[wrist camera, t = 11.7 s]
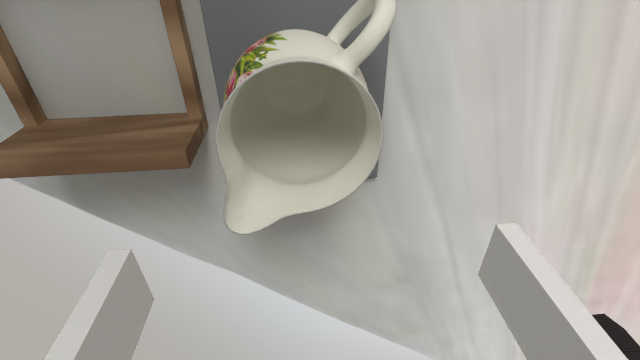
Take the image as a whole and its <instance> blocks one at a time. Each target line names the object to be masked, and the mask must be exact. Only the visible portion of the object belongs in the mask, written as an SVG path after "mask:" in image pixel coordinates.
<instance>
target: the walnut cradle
mask: <svg viewBox="0 0 640 360" xmlns="http://www.w3.org/2000/svg"><path fill="white" fill-rule="evenodd" d="M160 4H161V8H162V12H163V16H164V20H165V24H166V28H167V32H168V36H169V40H170V44H171V48H172V52H173V56H174V60H175V64H176V68H177V72H178V76H179V80H180V84H181V88H182V92H183V96H184V100H185V104H186V108H187V112H188V113H175V114H154V115H133V116H112V117H91V118H70V119H48V120H47V118H46V116H45V114H44V112H43V110H42V108H41V106H40V104H39V102H38V100H37V98H36V96H35V94H34V92H33V90H32V88H31V86H30V84H29V82H28V80H27V78H26V76H25V74H24V72H23V70H22V68H21V66H20V64H19V62H18V60H17V58H16V56H15V54H14V52H13V50H12V48H11V46H10V44H9V42H8V40H7V38H6V36H5V34H4V32H3V30H2V28H1V26H0V83H1V84H2V86H3V88H4V90H5V92H6V94H7V95H8V97H9V99H10V101H11V103H12V105H13V106H14V108H15V110H16V112H17V114H18V116H19V117H20V119H21V121H22V123H23V125H24V126H25V127H24V128H22V129H21V130H19V131H18V132H16V133H15V134H13V135H12V136H10V137H9V138H7V139H6V140H4V141H3V142H1V143H0V178H18V177H36V176H54V175H72V174H90V173H108V172H126V171H144V170H163V169H181V168H190V166H191V164H192V162H193V159H194V157H195V155H196V153H197V151H198V148H199V146H200V144H201V142H202V139H203V137H204V135H205V133H206V131H207V128H208V123H207V119H206V114H205V110H204V105H203V101H202V96H201V92H200V87H199V82H198V78H197V73H196V69H195V64H194V60H193V55H192V51H191V46H190V42H189V37H188V33H187V28H186V23H185V19H184V14H183V10H182V5H181V1H180V0H160Z"/></svg>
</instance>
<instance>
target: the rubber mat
mask: <svg viewBox="0 0 640 360" xmlns="http://www.w3.org/2000/svg"><path fill="white" fill-rule="evenodd" d="M357 1H358V0H200V3H201V8H202V13H203V18H204V23H205V29H206V34H207V39H208V44H209V49H210V55H211V60H212V65H213V70H214V75H215V81H216V86H217V91H218V96H219V102H220V107H221V111H222V108H223V104H224V94H225V89H226V84H227V81H228V79H229V76H230V73H231V71H232V69H233V67H234V66H235V64H236V62H237V61H238V59H239V58H240V57H241V55H242V54H243V53H244V52H245V51H246V50H247V49H248V48H249V47H250V46H251V45H252V44H254V43H255V42H256V41H258V40H259V39H261V38H263V37H265V36H267V35H269V34H272V33H275V32H278V31H282V30H290V29H301V30H308V31H312V32H316V33H319V34H321V35H324V36H327V35H328V34H329V32H330V31H331V30H332V29H333V28H334V26H335V25H336V24H337V23H338V21H339V20H340V19H341V18H342V17H343V16H344V14H345V13H346V12H347V11H348V10H349V9H350V8H351V7H352V6H353V5H354V4H355V3H356V2H357ZM372 14H373V13H372ZM372 14H370V15H369V16H368V17H367V18H365V19H364V20H363V21H362V22H361V23H360V24H359V25H358V26H357V27H356V28H355V29H354V30H353V31H352V32H351V33H350V34H349V35H348V36H347V37H346V38H345V40H344V41H343V42H342V43H341V45H340V46H341V47H342V48H343V49H346V48H347V47H348V46H349V45H351V43H352V42H353V41H354V40H355V39H356V38H357V37H358V36H359V34H360V33H361V32H362V31H363V29H364V28H365V27H366V25H367V23H368V22H369V20H370V18H371V17H372ZM389 31H390V29H389ZM389 31H388V32H387V34H386V35H385V37H384V38H383V40H382V41H381V42H380V44H379V45H378V46H377V47H376V48H375V50H374V51H373V52H372V53H371V54H370V55H369V56H368V57H367V58H366V59H365V60H364V61H363V62H362V63H361V64H360V65H359V66H358V67H359V69H360V70H361V72H362V74H363V77H364V79H365V82H366V84H367V88H368V92H369V93H370V94H371V96H372V98H373V99H374V101H375V103H376V105H377V107H378V110H379V112H380V116H381V120H382V111H383V99H384V88H385V76H386V65H387V54H388V42H389ZM377 168H378V161H377V163H376V165H375V167H374V169H373V171H372V172H371V174H370V175H369V177H368V178H370V177H377Z"/></svg>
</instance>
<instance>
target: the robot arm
mask: <svg viewBox="0 0 640 360" xmlns="http://www.w3.org/2000/svg"><path fill="white" fill-rule="evenodd" d="M478 275H479V277H480V279H481V280H482V282H483V284H484V286H485V287H486V289H487V291H488V293H489V294H490V296H491V298H492V300H493V301H494V303H495V305H496V306H497V308H498V310H499V312H500V313H501V315H502V317H503V319H504V320H505V322H506V324H507V326H508V327H509V329H510V331H511V332H512V334H513V336H514V338H515V339H516V341H517V343H518V345H519V346H520V348H521V350H522V352H523V353H524V355H525V357H526V358H527V360H640V346H639V345H638V344H637V343H636V342H635V341H634V339H633V338H632V337H631V336H630V335H629V334H628V333H627V331H626V330H625V329H624V328H622V327H621V326H620V325H618V324H617V323H616V322H614V321H613V320H612V319H610V318H609V317H608V316H606V315H605V314H596V315H591V314H590V312H589V311H588V310H587V309H586V308H585V306H584V305H583V304H582V303H581V302H580V300H579V299H578V298H577V297H576V295H575V294H574V293H573V292H572V291H571V289H570V288H569V287H568V286H567V284H566V283H565V282H564V281H563V280H562V278H561V277H560V276H559V275H558V273H557V272H556V271H555V270H554V269H553V267H552V266H551V265H550V264H549V263H548V261H547V260H546V259H545V258H544V256H543V255H542V254H541V253H540V252H539V250H538V249H537V248H536V247H535V245H534V244H533V243H532V242H531V241H530V239H529V238H528V237H527V236H526V234H525V233H524V232H523V231H522V230H521V228H520V227H519V226H518V225H517V224H516V223H511V224H496V226H495V229H494V232H493V234H492V237H491V240H490V243H489V246H488V248H487V251H486V254H485V257H484V260H483V262H482V265H481V268H480V271H479V273H478ZM153 300H154V298H153V296H152V293H151V291H150V289H149V287H148V285H147V283H146V281H145V278H144V276H143V274H142V272H141V270H140V268H139V265H138V263H137V261H136V259H135V257H134V254H133V253H132V250H131V249H126V250H111V251H108V252H107V254H106V256H105V258H104V259H103V261H102V262H101V264H100V266H99V268H98V269H97V271H96V273H95V274H94V276H93V278H92V279H91V281H90V283H89V285H88V286H87V288H86V290H85V291H84V293H83V295H82V297H81V298H80V300H79V301H78V303H77V305H76V307H75V308H74V310H73V312H72V313H71V315H70V317H69V318H68V320H67V322H66V324H65V325H64V327H63V329H62V330H61V332H60V334H59V336H58V337H57V339H56V341H55V342H54V344H53V346H52V348H51V349H50V351H49V352H48V354H47V356H46V358H45V359H44V360H131V358H132V356H133V353H134V350H135V348H136V345H137V342H138V340H139V337H140V335H141V332H142V329H143V327H144V324H145V322H146V319H147V316H148V313H149V311H150V308H151V306H152V303H153Z"/></svg>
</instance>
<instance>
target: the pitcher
mask: <svg viewBox="0 0 640 360" xmlns="http://www.w3.org/2000/svg"><path fill="white" fill-rule="evenodd" d="M372 13H373V14H372ZM370 14H372V17H371V18H370V20H369V22H368V23H367V25H366V27H365V28H364V29H363V31H362V32H361V33H360V34H359V36H358V37H357V38H356V39H355V40H354V41H353V42H352V43H351V45H349V46H348V47H347V48H346V49H343V48H342V47H341V46H340V45H341V43H342V42H343V41H344V40H345V38H346V37H347V36H348V35H349V34H350V33H351V32H352V31H353V30H354V29H355V28H356V27H357V26H358V25H359V24H360V23H361V22H362V21H363V20H364V19H365V18H367V17H368V16H369V15H370ZM395 15H396V1H395V0H358V1H357V2H356V3H355V4H354V5H353V6H352V7H351V8H350V9H349V10H348V11H347V12H346V13H345V14H344V16H343V17H342V18H341V19H340V20H339V21H338V23H337V24H336V25H335V26H334V28H333V29H332V30H331V31H330V32H329V34H328V35H327V36H324V35H321V34H319V33H316V32H312V31H308V30H301V29H290V30H282V31H278V32H275V33H272V34H269V35H267V36H265V37H263V38H261V39H259V40H258V41H256V42H255V43H254V44H252V45H251V46H250V47H249V48H248V49H247V50H246V51H245V52H244V53H243V54H242V55H241V57H240V58H239V59H238V61H237V62H236V64H235V66H234V67H233V69H232V71H231V73H230V76H229V79H228V81H227V84H226V89H225V94H224V104H223V108H222V111H221V113H220V116H219V119H218V124H217V130H216V147H217V153H218V157H219V161H220V164H221V167H222V170H223V172H224V175H225V178H226V183H227V194H226V199H225V204H224V223H225V225H226V226H227V228H228V229H229V230H231V231H232V232H234V233H237V234H240V235H247V234H252V233H255V232H258V231H260V230H262V229H264V228H267V227H269V226H270V225H272V224H274V223H276V222H277V221H279V220H280V219H282V218H285V217H288V216H292V215H296V214H302V213H308V212H313V211H317V210H321V209H324V208H327V207H329V206H332V205H334V204H336V203H338V202H340V201H341V200H343V199H345V198H346V197H348V196H349V195H350V194H352V193H353V192H354V191H356V190H357V189H358V188H359V187H360V186H361V185H362V184H363V183H364V181H365V180H366V179H367V178H368V177H369V175H370V174H371V172H372V171H373V169H374V167H375V165H376V163H377V161H378V158H379V155H380V152H381V148H382V143H383V126H382V120H381V116H380V112H379V110H378V107H377V105H376V103H375V101H374V99H373V98H372V96H371V94H370V93H369V92H368V88H367V84H366V82H365V79H364V77H363V74H362V72H361V70H360V69H359V67H358V66H359V65H360V64H361V63H362V62H363V61H364V60H365V59H366V58H367V57H368V56H369V55H370V54H371V53H372V52H373V51H374V50H375V48H376V47H377V46H378V45H379V44H380V42H381V41H382V40H383V38H384V37H385V35H386V34H387V32H388V31H389V29H390V27H391V25H392V23H393V21H394V18H395Z"/></svg>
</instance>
